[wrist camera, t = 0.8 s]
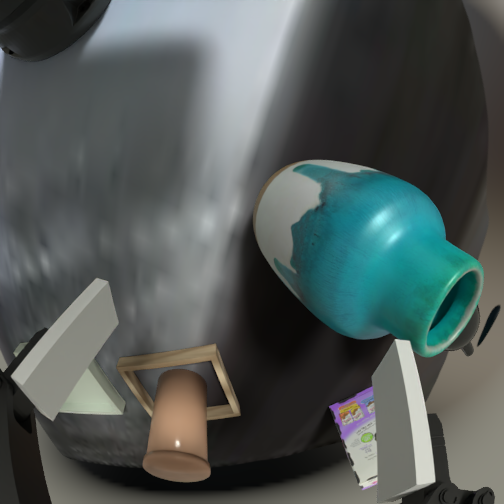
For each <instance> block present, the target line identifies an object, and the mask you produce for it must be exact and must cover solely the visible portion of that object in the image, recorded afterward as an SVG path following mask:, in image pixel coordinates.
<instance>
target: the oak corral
mask: <svg viewBox="0 0 504 504" xmlns="http://www.w3.org/2000/svg"><path fill="white" fill-rule="evenodd" d="M210 360H211V361H212V364H213V366H214V368H215V371H216V373H217V376H218V378H219V380H220V383H221V385H222V387H223V390H224V392H225V394H226V396H227V399H228V401H229V403H230V404H228V405H221V406H214V407H207V420H214V419H221V418H228V417H235V416H241V413H240V405H239V403H238V400H237V398H236V395H235V393H234V390H233V388H232V385H231V383H230V380H229V377H228V375H227V372H226V370H225V367H224V364H223V362H222V359H221V356H220V354H219V351H218V348H217V346H216V344H211V345H206V346H200V347H194V348H188V349H181V350H175V351H168V352H161V353H154V354H146V355H138V356H129V357H120V358H119V361H118V364H117V367H116V368H117V370H118V371H119V373H120V374H121V376H122V377H123V379H124V380H125V382H126V383H127V385H128V386H129V388H130V389H131V390H132V392H133V393H134V395H135V396H136V398H137V399H138V400H139V402H140V403H141V404H142V406H143V407H144V408H145V410H146V411H147V412H148V414H149V415H150V416H151V417H152V413H153V407H154V402H153V400H152V399H151V397H150V396H149V395H148V393H147V392H146V390H145V389H144V387H143V386H142V384H141V383H140V381H139V379H138V378H137V376H136V375H135V373H134V372H133V371H134V370H144V369H153V368H162V367H170V366H177V365H184V364H191V363H198V362H204V361H210Z"/></svg>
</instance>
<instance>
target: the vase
mask: <svg viewBox="0 0 504 504" xmlns="http://www.w3.org/2000/svg"><path fill="white" fill-rule="evenodd" d="M253 229H254V233H255V237H256V240H257V243H258V245H259V248H260V250H261V252H262V253H263V255H264V257H265V258H266V260H267V261H268V263H269V264H270V266H271V267H272V269H273V270H274V272H275V273H276V274H277V275H278V277H279V278H280V279H281V280H282V282H283V283H284V284H285V285H286V286H287V287H288V289H289V290H290V291H291V292H292V293H293V294H294V295H295V296H296V297H297V298H298V299H299V300H300V301H301V302H302V303H303V304H304V305H305V307H306V308H307V309H308V310H309V311H310V312H312V313H313V314H314V315H315V316H316V317H317V318H318V319H319V320H321V321H322V322H323V323H324V324H326V325H327V326H329V327H330V328H332V329H333V330H335V331H336V332H338V333H340V334H342V335H345V336H348V337H351V338H355V339H373V338H379V337H382V336H385V335H387V334H389V333H391V334H393V335H394V336H396V337H397V338H398V339H400V340H407V341H410V344H411V347H412V350H414V351H415V352H416V353H417V354H419V355H421V356H423V357H432V356H435V355H437V354H439V353H440V352H442V351H443V350H445V349H446V348H447V347H448V346H449V345H451V344H452V343H453V342H454V340H455V339H456V338H457V337H458V336H459V335H460V333H461V332H462V331H463V329H464V328H465V327H466V325H467V323H468V322H469V320H470V318H471V317H472V315H473V313H474V311H475V309H476V307H477V304H478V302H479V299H480V296H481V292H482V288H483V281H484V273H483V268H482V266H481V264H480V263H479V262H478V261H477V260H476V259H475V258H473V257H472V256H470V255H469V254H467V253H465V252H464V251H462V250H460V249H459V248H457V247H456V246H454V245H452V244H451V243H449V242H448V241H446V235H445V228H444V224H443V221H442V218H441V215H440V213H439V211H438V209H437V207H436V206H435V205H434V203H433V202H432V201H431V200H430V198H429V197H428V196H427V195H426V194H424V193H423V192H422V191H421V190H419V189H418V188H417V187H415V186H413V185H412V184H410V183H408V182H406V181H403V180H401V179H399V178H397V177H395V176H392V175H390V174H387V173H384V172H381V171H378V170H375V169H371V168H368V167H364V166H360V165H355V164H350V163H344V162H338V161H330V160H306V161H300V162H296V163H293V164H290V165H288V166H285V167H283V168H282V169H280V170H279V171H277V172H276V173H275V174H274V175H273V176H271V177H270V178H269V180H268V181H267V182H266V183H265V184H264V186H263V187H262V189H261V191H260V192H259V195H258V197H257V200H256V203H255V207H254V211H253Z"/></svg>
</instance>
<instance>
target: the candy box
mask: <svg viewBox="0 0 504 504" xmlns="http://www.w3.org/2000/svg"><path fill="white" fill-rule="evenodd" d="M329 408H330V411H331V414H332V416H333V419H334V421H335V424H336V426H337V429H338V432H339V434H340V437H341V440H342V442H343V445H344V448H345V450H346V453H347V456H348V459H349V461H350V464H351V466H352V469H353V471H354V474H355V477H356V479H357V481H358V484H359V486H360V487H361V489H362V490H364V489H366V488H369V487H371V486H374V485H376V484H377V437H376V419H375V406H374V394H373V386H372V387H370V388H367V389H365V390H363V391H361V392H359V393H357V394H355V395H353V396H351V397H349V398H347V399H344V400H342V401H340V402H338V403H335V404H333V405H331V406H329Z"/></svg>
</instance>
